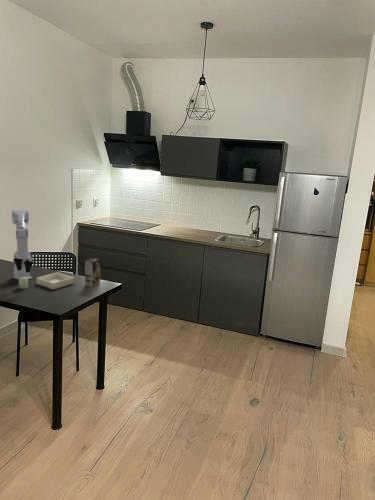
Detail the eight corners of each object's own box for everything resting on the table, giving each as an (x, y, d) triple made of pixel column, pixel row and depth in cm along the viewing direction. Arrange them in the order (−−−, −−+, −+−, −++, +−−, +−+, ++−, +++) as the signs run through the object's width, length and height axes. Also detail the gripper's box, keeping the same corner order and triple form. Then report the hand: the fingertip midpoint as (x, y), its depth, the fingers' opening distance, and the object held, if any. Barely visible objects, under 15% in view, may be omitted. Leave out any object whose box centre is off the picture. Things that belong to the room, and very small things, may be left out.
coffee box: (94, 286, 229) (94, 262, 225) (84, 285, 230) (84, 261, 226) (100, 282, 238) (100, 258, 234) (91, 281, 239) (91, 257, 235)
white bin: (36, 283, 228) (36, 277, 227) (57, 278, 241) (57, 272, 240) (53, 289, 220) (53, 283, 219) (74, 283, 233) (74, 277, 232)
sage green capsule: (17, 287, 219) (16, 278, 218) (24, 285, 224) (24, 276, 222) (22, 289, 217) (22, 280, 215) (29, 287, 221) (29, 278, 220)
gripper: (8, 248, 214) (9, 270, 217) (24, 251, 208) (26, 274, 211) (19, 246, 221) (20, 268, 223) (35, 249, 214) (36, 272, 217)
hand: (23, 271), depth 217 cm, fingers open, 7 cm apart
